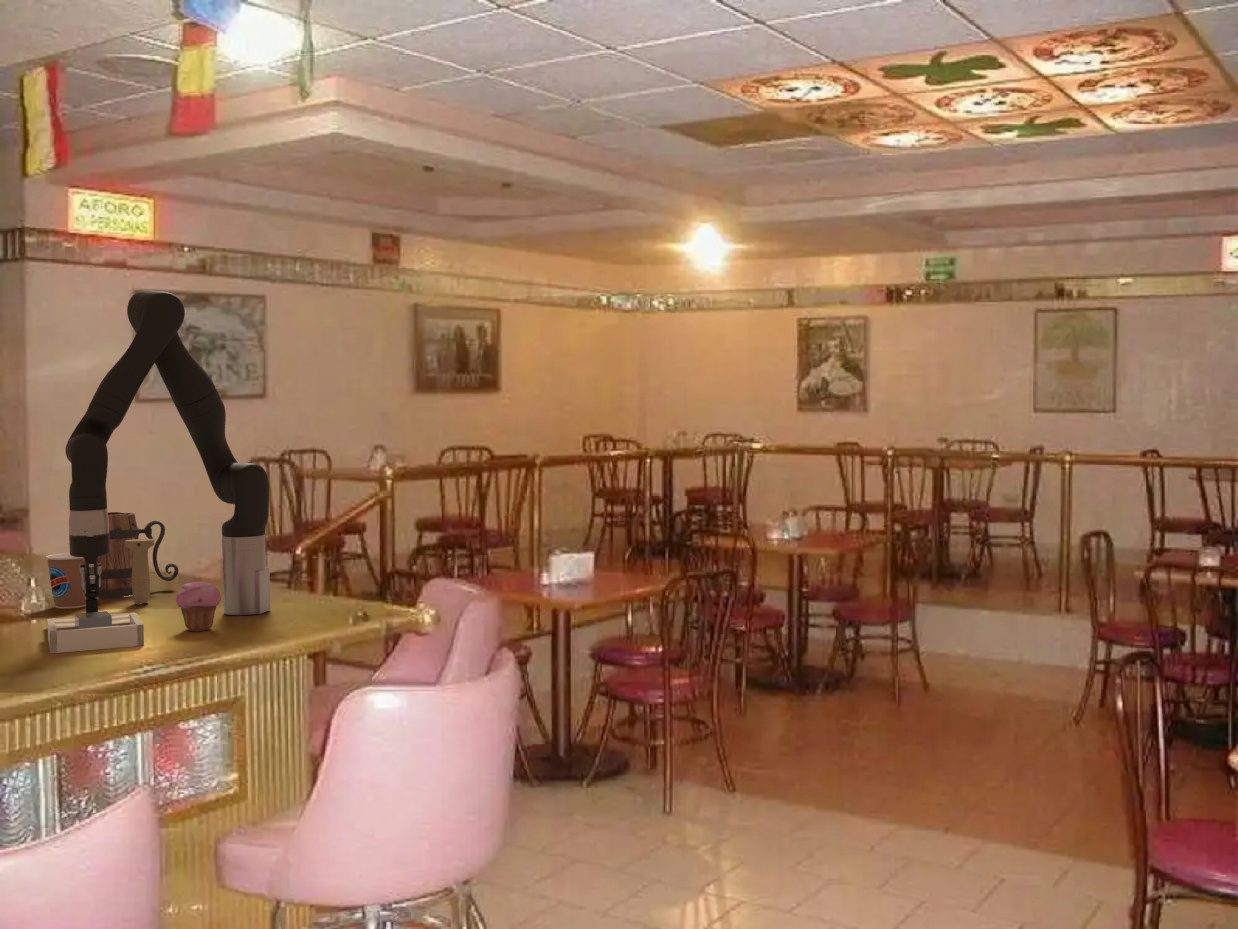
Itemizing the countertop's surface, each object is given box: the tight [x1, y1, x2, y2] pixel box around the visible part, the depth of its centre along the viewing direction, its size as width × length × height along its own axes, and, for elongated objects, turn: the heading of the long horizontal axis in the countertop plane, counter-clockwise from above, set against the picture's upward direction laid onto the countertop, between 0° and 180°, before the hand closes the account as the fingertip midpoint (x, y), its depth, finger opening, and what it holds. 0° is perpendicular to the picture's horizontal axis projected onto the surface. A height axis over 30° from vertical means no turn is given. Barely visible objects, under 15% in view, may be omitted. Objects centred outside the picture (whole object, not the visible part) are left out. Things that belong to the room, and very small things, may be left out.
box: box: [47, 612, 145, 654], centre depth 248 cm, size 17×16×4 cm
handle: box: [125, 538, 155, 605], centre depth 297 cm, size 5×6×15 cm
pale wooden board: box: [46, 612, 130, 631], centre depth 262 cm, size 14×16×2 cm
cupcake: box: [175, 580, 221, 633], centre depth 261 cm, size 9×9×10 cm
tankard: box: [97, 511, 179, 600], centre depth 316 cm, size 24×17×20 cm
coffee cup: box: [45, 552, 86, 610], centre depth 295 cm, size 10×10×12 cm
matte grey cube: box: [74, 610, 112, 629], centre depth 252 cm, size 7×6×5 cm
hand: (92, 617), depth 258 cm, fingers closed
